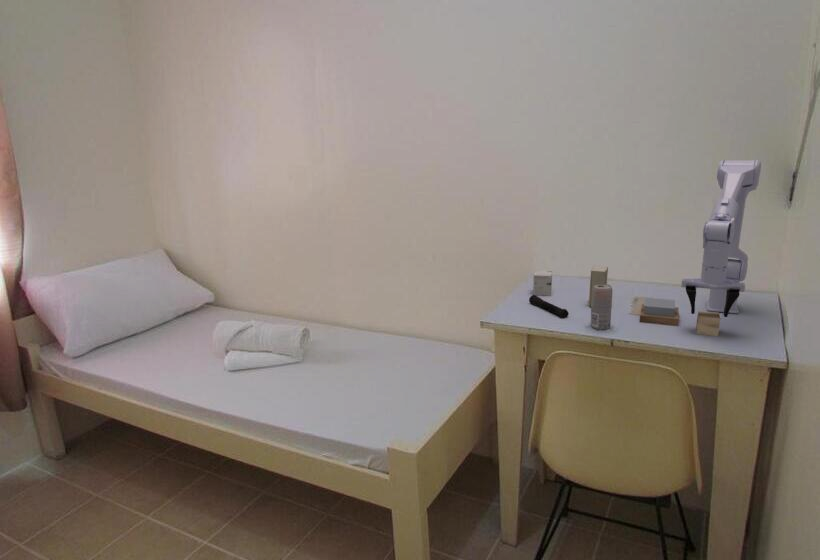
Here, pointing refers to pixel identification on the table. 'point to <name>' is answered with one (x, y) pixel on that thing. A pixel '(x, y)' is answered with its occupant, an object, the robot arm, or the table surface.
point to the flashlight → (548, 306)
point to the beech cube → (708, 323)
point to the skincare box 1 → (542, 283)
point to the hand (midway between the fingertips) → (708, 314)
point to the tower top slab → (659, 307)
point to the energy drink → (601, 306)
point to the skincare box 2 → (597, 278)
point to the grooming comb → (637, 305)
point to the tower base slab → (660, 318)
